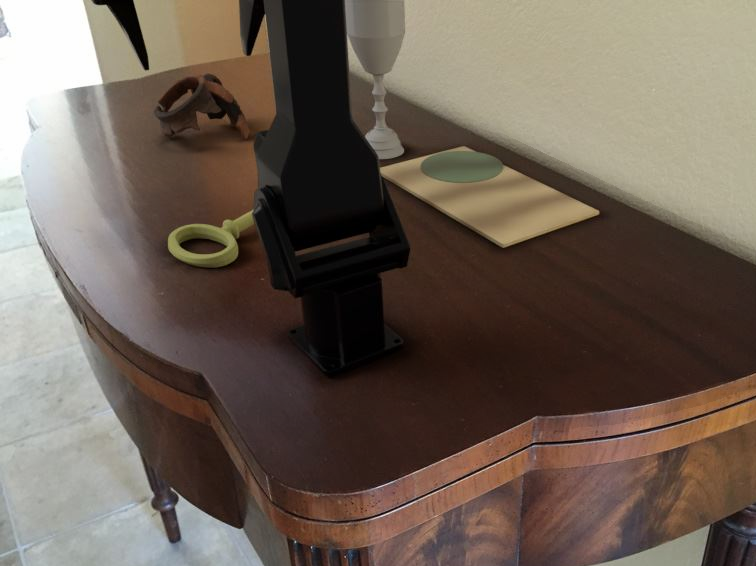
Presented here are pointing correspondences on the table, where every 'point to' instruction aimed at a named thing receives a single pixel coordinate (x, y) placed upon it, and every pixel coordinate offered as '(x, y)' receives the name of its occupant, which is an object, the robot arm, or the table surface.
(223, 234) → the key
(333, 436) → the table surface
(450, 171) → the place mat
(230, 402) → the table surface
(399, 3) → the chalice
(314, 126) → the robot arm
